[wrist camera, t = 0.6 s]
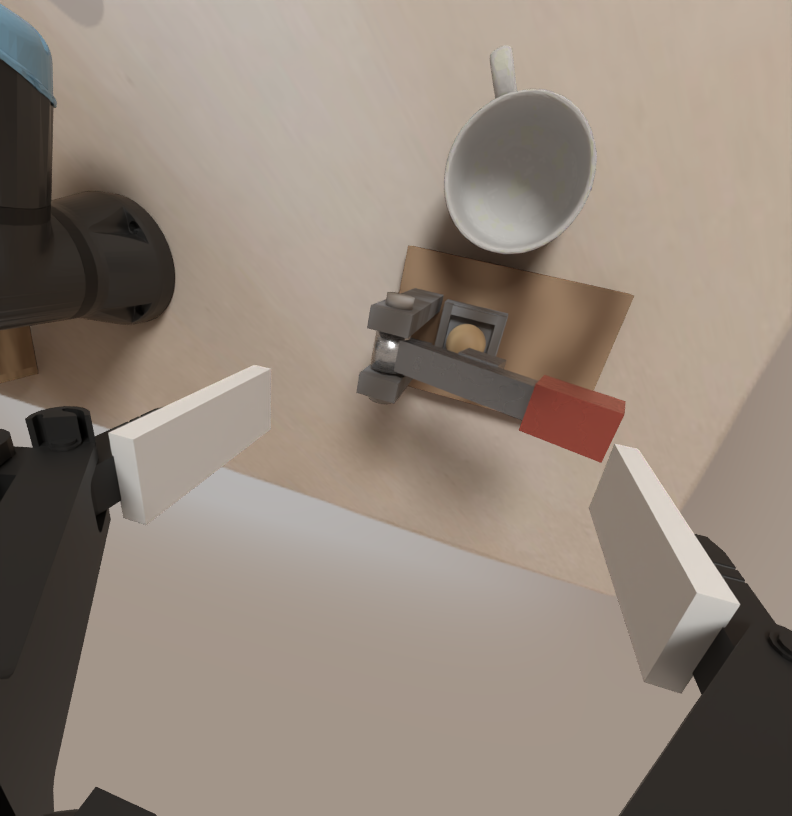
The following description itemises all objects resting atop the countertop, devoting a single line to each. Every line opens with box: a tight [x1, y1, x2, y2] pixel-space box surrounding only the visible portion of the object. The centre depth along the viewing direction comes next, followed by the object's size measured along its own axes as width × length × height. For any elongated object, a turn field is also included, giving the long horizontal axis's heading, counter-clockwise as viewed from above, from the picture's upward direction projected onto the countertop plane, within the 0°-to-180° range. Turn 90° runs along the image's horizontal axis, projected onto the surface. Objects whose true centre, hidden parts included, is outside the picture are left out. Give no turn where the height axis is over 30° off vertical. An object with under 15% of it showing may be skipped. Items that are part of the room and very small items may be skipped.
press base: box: [356, 246, 634, 412], centre depth 35 cm, size 21×14×16 cm, turn 78°
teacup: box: [444, 45, 597, 254], centre depth 32 cm, size 14×11×8 cm
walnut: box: [446, 324, 486, 353], centre depth 37 cm, size 4×4×4 cm
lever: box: [371, 331, 625, 462], centre depth 28 cm, size 17×3×5 cm, turn 78°
